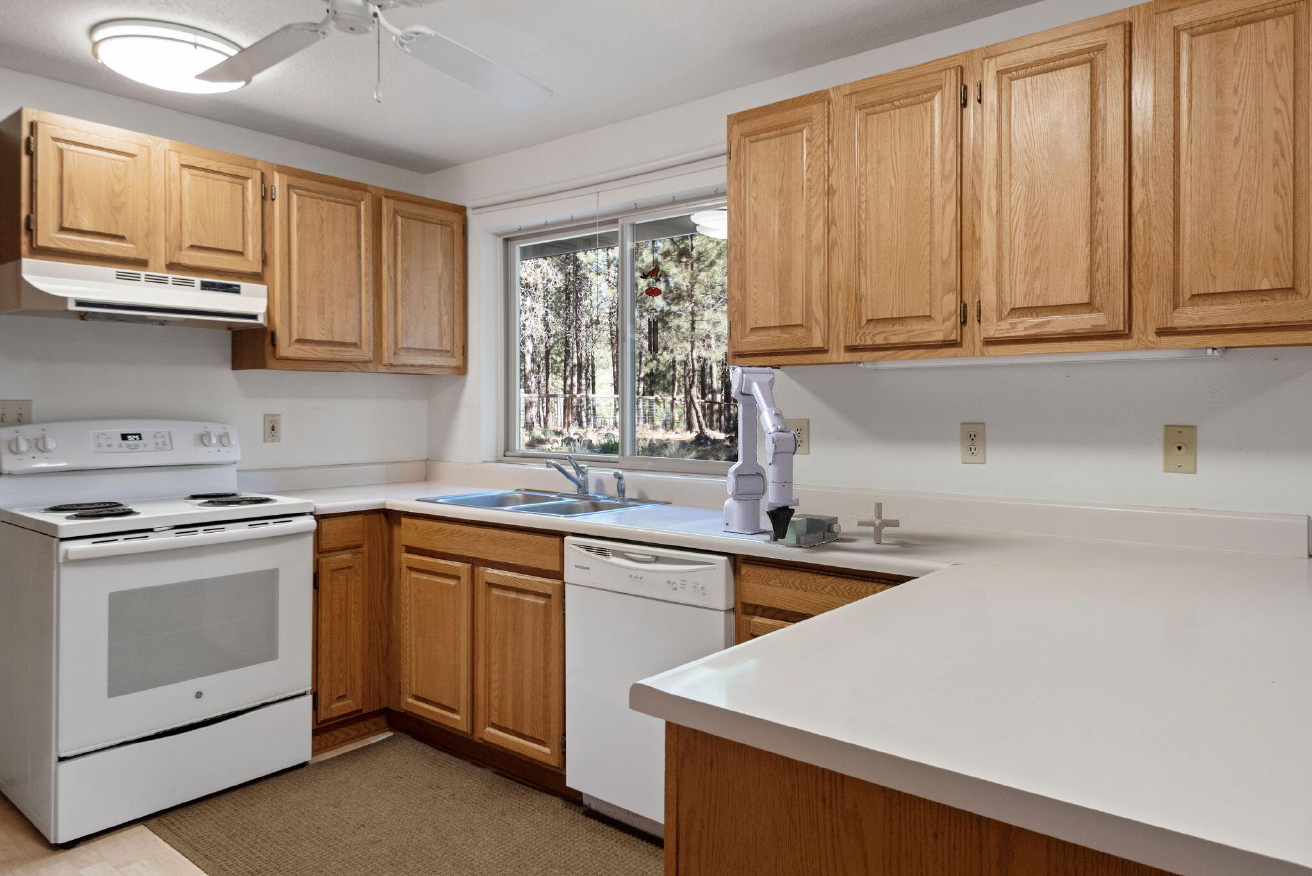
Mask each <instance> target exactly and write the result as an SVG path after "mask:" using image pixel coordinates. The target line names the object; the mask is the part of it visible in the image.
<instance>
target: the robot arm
mask: <svg viewBox="0 0 1312 876" xmlns="http://www.w3.org/2000/svg"><path fill="white" fill-rule="evenodd" d="M775 381H776V380H775V373H774V370H773V369H772V367H769V366H768V367H741V366H737V367H735V369H734V371H733V373H732V376H731V384H732V385H731V392H732V398H733V399H735V400H736V401H737V406H738V409H737V411H738V413H737V415H738V417H737V419H738V420H737V421H738V422H737V423H738V424H737V425H738V430H737V431H738V437H737V439H738V441H737V442H738V443H737V445H738V448H737V449H738V455H737V456H738V461H737V462H736V463H735V464H733V465H732V466H731V467H729V468H728V471H727V478H726V491H727V494H728V496H729V497H728V498H727V499H726V500H725V501H724V505H723V510H722V511H723V519H722V520H723V526H722V527H723V528H722V529H721V531H722V532H728V533H729V532H730V533H737V534H739V533H740V534H747V535H753V534H754V535H755V534H758V533H762V532H767V529H766V528H761V512H765V513H766V515H767V516H768V518H769V520H770V523H771V527H772V530H773V531H772V532H774V535H775V538H776V539H785V537H786V534H787V530H788V526H789V523H790V520H791V518H792V516H794V514H795V512H796V509H795V508H793V507H800V498H799V497H793V495H794V489H793V486H794V484H793V483H794V456H795V455H796V454H797V450H798V438H797V437H798V436H797V433H796V432H795V431H794V430H792V429H791V428H789V426H788V425H787V421H786V419H785V416H784V413H783V412H782V410H781V409H779V408H777V406H776V403H775V398H774V394H773V389H774V386H775ZM757 405H758V407H759V410H760V411H761V414H760V416H759V421H760V423H761V427H762V429H763V433H764V435H765V443H764V448H765V453H766V462H767V463H768V480H767V474H766V473H767V472H766V469H765V468H764V467H763V466H762V465H761V464H759V462H757V458H758V457H757V456H758V455H757V447H758V445H757V438H758V435H757V427H758V425H757V422H758V421H757V417H758V416H757V413H758V412H757V411H758V410H757ZM767 491H768V499H767V500H765V501H763V502H761V500H763V497H764V496H765V495H766V493H767ZM791 507H792V508H791Z"/></svg>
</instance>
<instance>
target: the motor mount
mask: <svg viewBox="0 0 1312 876" xmlns="http://www.w3.org/2000/svg"><path fill="white" fill-rule="evenodd" d="M792 517H795V518H805V519H806V535H803V536H800V543H788V542H780V541H778V539H776V538H775V535H774V531H771V532H769V538H768V539H765V540H763V541H764V543H765V542H767V544H774V545H782V546H783V545H784V546H789V547H798V546H802V547H801V548H806V547H808V548H810V547H809V546H812V547H814V546H813V545H816V544H820V545H822V544H821V543H823V542H827V543H830V542H829V541H831V542H835V541H837V540H836V539H839V540H841V538H842V539H843V536H839V534H840V533H841V531H842V526H841V524H839V517H838V516H833V515H831V516H830V515H822V514H821V515H820V514H811V513H810V514H809V513H799V514H795V515H794V514H793V516H792ZM834 540H835V541H834ZM816 546H817V545H816Z"/></svg>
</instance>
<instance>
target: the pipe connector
mask: <svg viewBox="0 0 1312 876" xmlns="http://www.w3.org/2000/svg"><path fill="white" fill-rule="evenodd" d="M873 508H874V509H873V511H874V512H873V513H874V515H873V517H871V519H870V518H863V519H862V518H857V519H856V527H865V528H866V527H868V528H869V527H870V528H871V527H872V528H873V527H874V528H873V544H875V543H882V542H883V541H882V540H883V539H882V538H883V537H882V533H883V530H884V529H885V528H899V527H900V525H901V523H900V519H883V503H882V502H879V501H878V502H874V506H873Z"/></svg>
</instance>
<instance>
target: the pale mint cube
mask: <svg viewBox="0 0 1312 876" xmlns="http://www.w3.org/2000/svg"><path fill="white" fill-rule="evenodd" d="M803 535H806V519H805V518H795V517H792V518H791V520H790V523H789V526H788V530H787V534H786V537H785V539H778V541H780V542H788V543H800V536H803Z"/></svg>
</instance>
